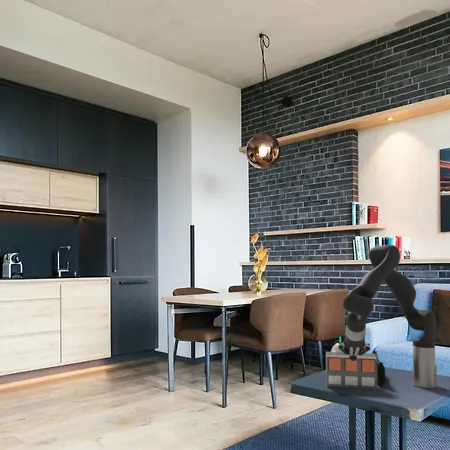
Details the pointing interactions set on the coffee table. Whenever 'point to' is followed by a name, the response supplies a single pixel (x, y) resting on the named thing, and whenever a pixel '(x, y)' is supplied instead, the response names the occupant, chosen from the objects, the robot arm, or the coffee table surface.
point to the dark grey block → (351, 373)
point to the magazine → (380, 371)
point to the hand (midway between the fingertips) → (352, 359)
